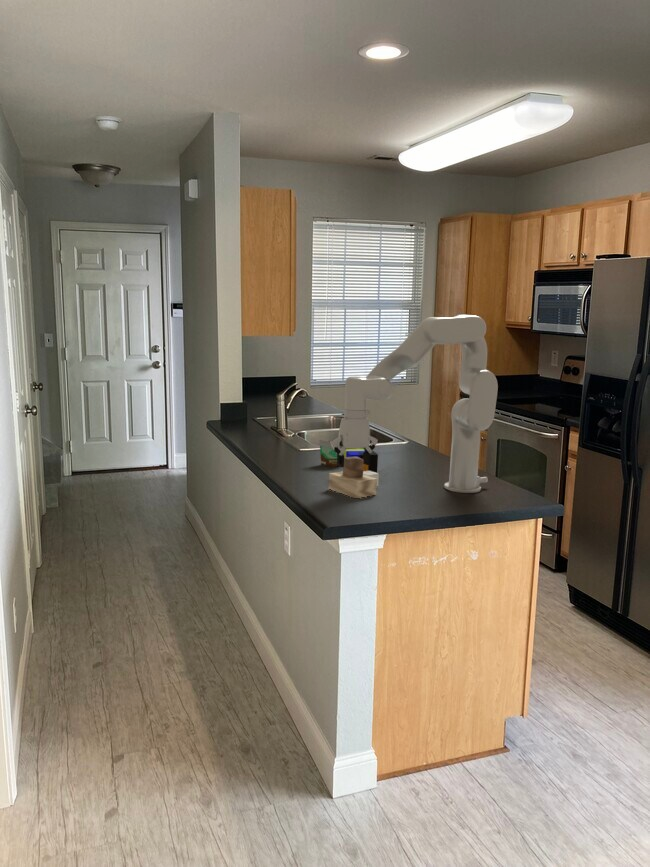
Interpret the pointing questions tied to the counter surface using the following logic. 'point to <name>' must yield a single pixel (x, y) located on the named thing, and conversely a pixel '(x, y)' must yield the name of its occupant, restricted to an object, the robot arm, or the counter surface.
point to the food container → (328, 454)
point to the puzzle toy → (359, 453)
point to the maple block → (353, 485)
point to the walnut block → (353, 467)
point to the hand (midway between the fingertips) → (353, 465)
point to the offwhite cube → (372, 475)
